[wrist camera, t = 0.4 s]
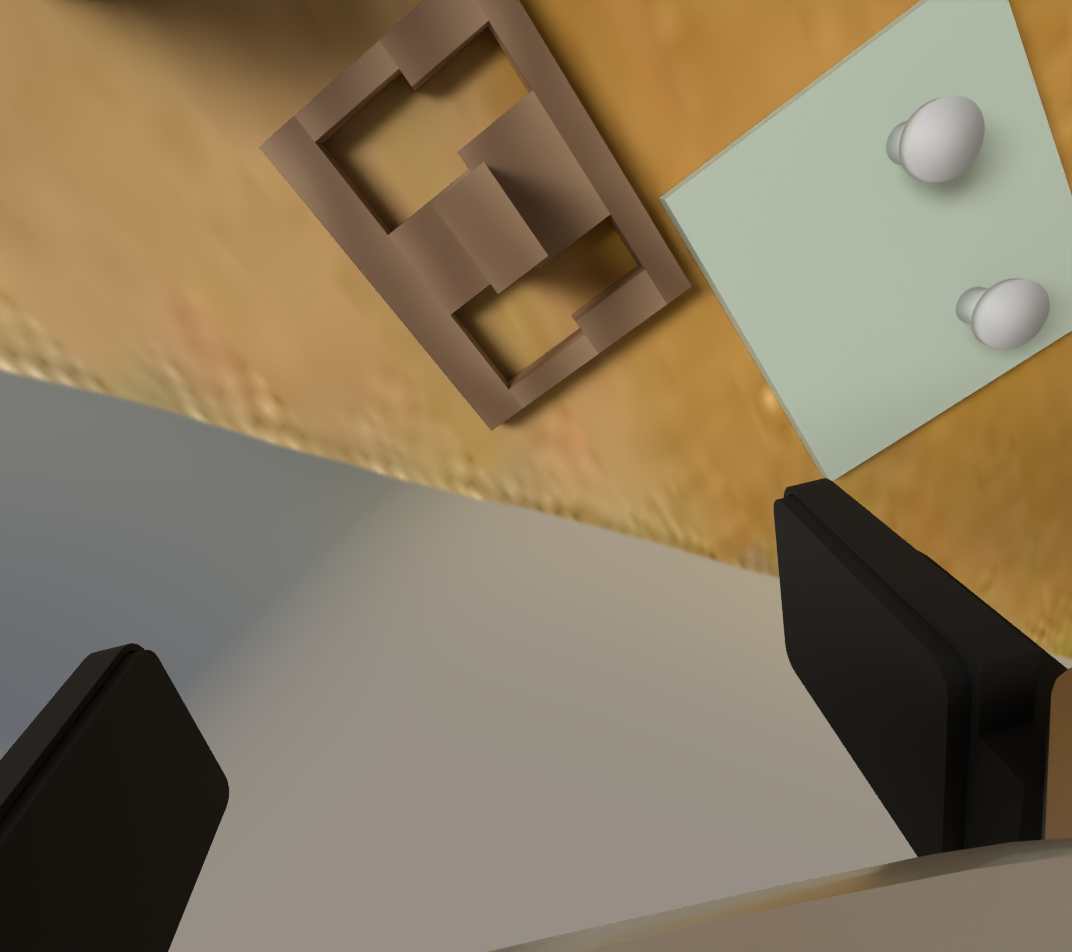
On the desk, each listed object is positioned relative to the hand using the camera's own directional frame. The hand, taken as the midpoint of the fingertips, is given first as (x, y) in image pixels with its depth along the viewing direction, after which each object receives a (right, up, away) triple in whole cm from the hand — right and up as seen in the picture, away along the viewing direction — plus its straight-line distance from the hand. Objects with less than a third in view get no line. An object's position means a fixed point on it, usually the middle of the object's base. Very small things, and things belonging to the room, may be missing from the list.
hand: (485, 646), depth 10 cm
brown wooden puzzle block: (-1, +15, +21) cm, 26 cm away
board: (+18, +14, +24) cm, 33 cm away
